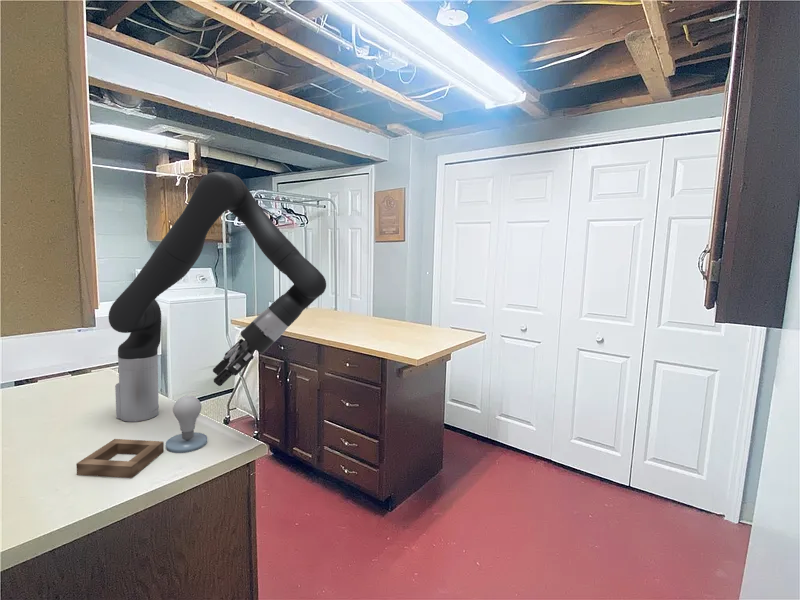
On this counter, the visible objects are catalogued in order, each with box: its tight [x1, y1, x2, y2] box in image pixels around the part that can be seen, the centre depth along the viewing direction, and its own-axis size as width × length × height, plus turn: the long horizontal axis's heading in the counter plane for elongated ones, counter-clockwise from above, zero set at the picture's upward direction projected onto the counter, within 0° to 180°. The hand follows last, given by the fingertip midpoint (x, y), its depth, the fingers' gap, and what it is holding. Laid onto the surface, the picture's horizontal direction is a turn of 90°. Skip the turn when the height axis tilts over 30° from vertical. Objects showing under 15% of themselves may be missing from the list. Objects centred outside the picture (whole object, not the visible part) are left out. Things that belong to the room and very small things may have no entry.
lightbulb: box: [172, 395, 202, 441], centre depth 103 cm, size 6×6×11 cm
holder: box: [76, 438, 165, 479], centre depth 94 cm, size 12×12×2 cm
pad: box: [165, 431, 208, 454], centre depth 104 cm, size 9×9×1 cm
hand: (215, 378), depth 104 cm, fingers open, 8 cm apart
